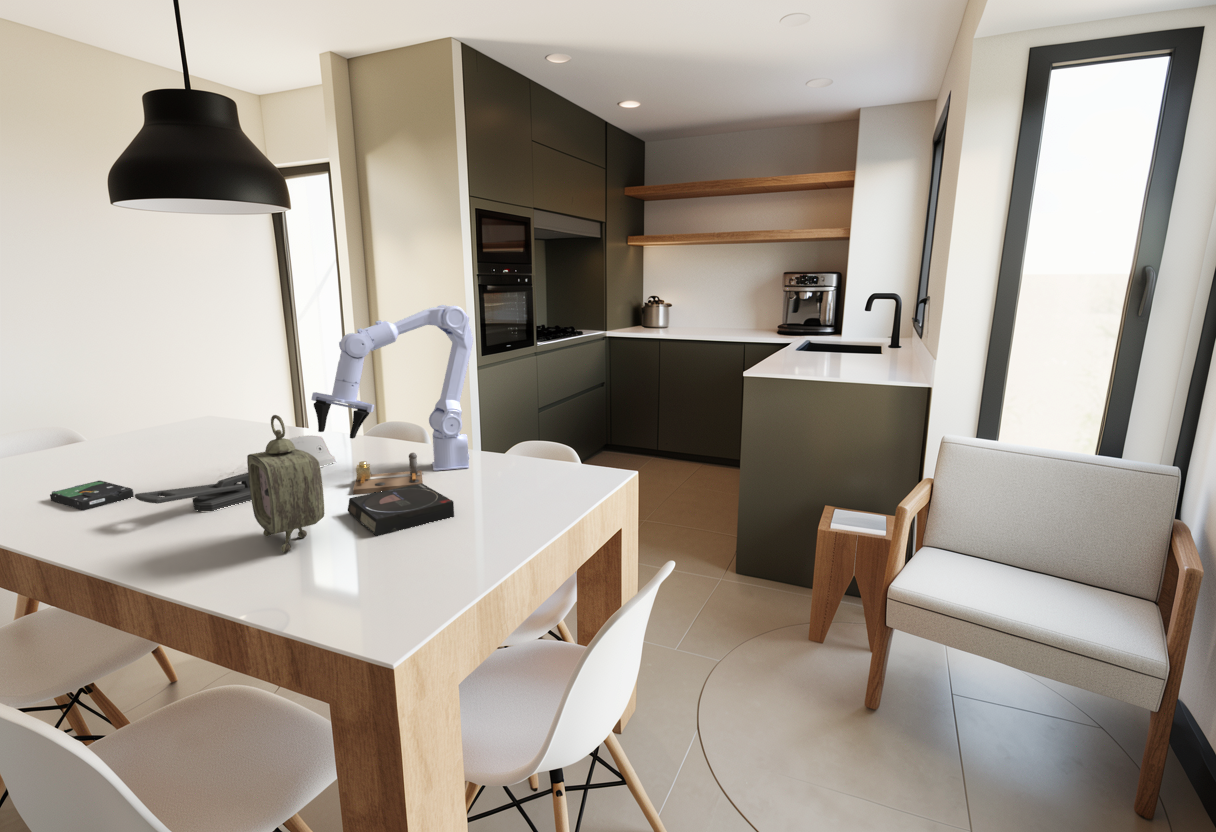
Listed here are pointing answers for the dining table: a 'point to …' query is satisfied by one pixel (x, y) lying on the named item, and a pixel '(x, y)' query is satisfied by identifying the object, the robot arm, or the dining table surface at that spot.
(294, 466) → the tabletop clock
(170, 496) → the dark grey long piece
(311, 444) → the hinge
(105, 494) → the disk drive
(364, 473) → the gold perfume bottle
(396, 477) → the plate
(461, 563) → the dining table surface
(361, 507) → the portable cd player
